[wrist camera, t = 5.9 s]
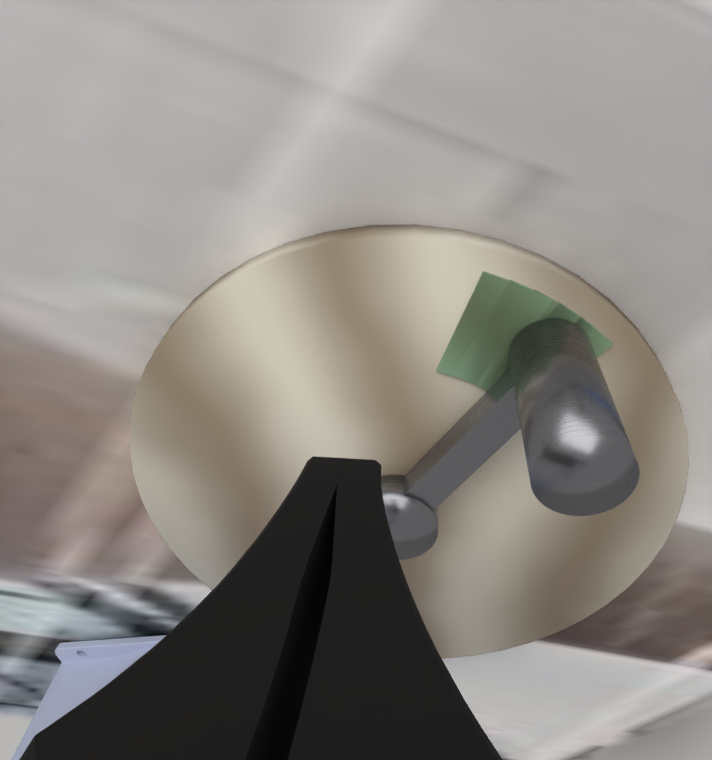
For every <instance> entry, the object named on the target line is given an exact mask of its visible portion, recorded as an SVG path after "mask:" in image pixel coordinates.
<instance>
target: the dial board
mask: <svg viewBox="0 0 712 760" xmlns="http://www.w3.org/2000/svg"><path fill="white" fill-rule="evenodd" d="M548 318H560V319H565V320H569V321H571V322H574V323H575V324H577V325H579V326H580V327H581V328H582V329H583V330H584V331H585V332H586V334H587V335H588V337H589V339H590V342H591V344H592V347H593V350H594V352H595V355H596V357H597V360H598V362H599V365H600V367H601V370H602V373H603V375H604V378H605V380H606V383H607V385H608V388H609V391H610V393H611V396H612V398H613V401H614V403H615V406H616V408H617V411H618V414H619V416H620V419H621V421H622V424H623V426H624V429H625V432H626V434H627V437H628V439H629V442H630V444H631V447H632V449H633V452H634V455H635V457H636V460H637V462H638V466H639V472H640V475H639V481H638V484H637V486H636V488H635V490H634V491H633V493H632V494H631V495H630V496H629V497H628V498H627V499H626V500H625V501H624V502H623V503H621V504H620V505H618V506H617V507H615V508H613V509H611V510H608V511H606V512H603V513H600V514H595V515H589V516H570V515H565V514H561V513H558V512H555V511H552V510H551V509H549V508H547V507H545V506H544V505H543V504H542V503H540V502H539V501H538V499H537V498H536V497H535V495H534V493H533V491H532V488H531V483H530V478H529V472H528V466H527V461H526V455H525V449H524V444H523V438H522V433H521V429H520V430H519V431H518V432H517V433H516V434H515V435H514V436H512V437H511V438H510V439H509V440H508V441H507V442H506V443H505V444H504V445H503V446H502V447H501V448H500V449H499V450H498V451H496V452H495V453H494V454H493V455H492V456H491V457H490V458H489V459H488V460H487V461H486V462H485V463H484V464H483V465H482V466H480V467H479V468H478V469H477V470H476V471H475V472H474V473H473V474H472V475H471V476H470V477H469V478H468V479H467V480H466V481H465V482H463V483H462V484H461V485H460V486H459V487H458V488H457V489H456V490H455V491H454V492H453V493H452V494H451V495H450V496H449V497H447V498H446V499H445V500H444V501H443V502H442V503H441V504H440V505H439V506H438V536H437V539H436V542H435V543H434V545H433V546H432V547H431V548H430V549H429V550H428V551H427V552H425V553H424V554H422V555H420V556H417V557H414V558H411V559H405V560H399V561H400V564H401V567H402V570H403V573H404V575H405V578H406V581H407V584H408V586H409V589H410V591H411V594H412V596H413V599H414V601H415V604H416V606H417V608H418V611H419V613H420V615H421V617H422V620H423V622H424V624H425V626H426V629H427V631H428V633H429V635H430V637H431V639H432V641H433V643H434V645H435V647H436V649H437V651H438V653H439V655H440V657H441V658H453V657H463V656H473V655H479V654H484V653H490V652H495V651H501V650H505V649H508V648H512V647H516V646H519V645H523V644H527V643H530V642H533V641H535V640H538V639H541V638H543V637H546V636H549V635H551V634H554V633H557V632H559V631H561V630H563V629H565V628H567V627H569V626H571V625H573V624H575V623H577V622H579V621H581V620H583V619H585V618H586V617H588V616H589V615H591V614H593V613H594V612H596V611H597V610H599V609H601V608H602V607H604V606H605V605H607V604H608V603H609V602H611V601H612V600H613V599H614V598H616V597H617V596H618V595H619V594H620V593H622V592H623V591H624V590H625V589H627V588H628V587H629V586H630V585H631V584H632V583H633V582H634V581H635V580H636V579H637V578H638V577H639V576H640V575H641V574H642V572H643V571H644V570H645V569H646V568H647V567H648V566H649V565H650V563H651V562H652V561H653V559H654V558H655V556H656V555H657V554H658V552H659V551H660V549H661V548H662V547H663V545H664V544H665V542H666V540H667V538H668V536H669V534H670V532H671V530H672V528H673V526H674V524H675V522H676V520H677V518H678V514H679V511H680V508H681V505H682V501H683V498H684V495H685V492H686V483H687V475H688V467H689V456H688V441H687V431H686V427H685V423H684V419H683V416H682V412H681V408H680V404H679V401H678V399H677V397H676V395H675V393H674V390H673V388H672V386H671V384H670V382H669V380H668V377H667V375H666V373H665V371H664V369H663V367H662V366H661V364H660V362H659V360H658V358H657V356H656V355H655V353H654V352H653V350H652V349H651V347H650V346H649V344H648V343H647V342H646V340H645V339H644V337H643V336H642V334H641V333H640V332H639V330H638V329H637V327H636V326H635V325H634V324H633V323H632V322H631V321H630V320H629V319H628V318H627V317H626V316H625V315H624V314H623V313H622V312H621V311H620V309H619V308H618V307H617V306H616V305H615V304H614V303H613V302H612V301H611V300H610V299H608V298H607V297H606V296H604V295H603V294H602V293H601V292H599V291H598V290H597V289H595V288H594V287H593V286H591V285H590V284H589V283H587V282H586V281H585V280H583V279H582V278H581V277H579V276H578V275H576V274H574V273H572V272H571V271H569V270H567V269H565V268H563V267H562V266H560V265H558V264H556V263H554V262H553V261H551V260H549V259H547V258H545V257H543V256H541V255H539V254H536V253H534V252H531V251H529V250H526V249H523V248H521V247H518V246H516V245H513V244H510V243H508V242H505V241H503V240H499V239H495V238H491V237H487V236H483V235H478V234H474V233H470V232H466V231H462V230H457V229H448V228H439V227H430V226H421V225H370V226H363V227H356V228H349V229H342V230H335V231H328V232H324V233H321V234H317V235H314V236H310V237H306V238H303V239H299V240H296V241H292V242H288V243H286V244H284V245H281V246H279V247H277V248H274V249H272V250H270V251H267V252H265V253H263V254H260V255H258V256H256V257H254V258H251V259H250V260H248V261H246V262H245V263H243V264H242V265H240V266H238V267H237V268H235V269H233V270H232V271H230V272H229V273H227V274H225V275H224V276H222V277H220V278H219V279H218V280H217V281H216V282H214V283H213V284H212V285H211V286H210V287H208V288H207V289H206V290H205V291H204V292H203V293H201V294H200V295H199V296H198V297H197V298H195V299H194V300H193V301H192V302H191V304H190V305H189V306H188V307H187V308H186V309H185V311H184V312H183V313H182V314H181V315H180V316H179V318H178V319H177V320H176V321H175V322H174V323H173V324H172V326H171V327H170V329H169V330H168V332H167V333H166V335H165V336H164V337H163V339H162V340H161V342H160V344H159V345H158V347H157V349H156V350H155V352H154V354H153V355H152V357H151V359H150V360H149V362H148V364H147V365H146V367H145V370H144V372H143V375H142V378H141V380H140V383H139V385H138V388H137V391H136V393H135V398H134V403H133V408H132V413H131V418H130V455H131V462H132V468H133V475H134V478H135V481H136V484H137V487H138V491H139V494H140V497H141V500H142V502H143V504H144V506H145V508H146V510H147V512H148V514H149V516H150V518H151V520H152V523H153V524H154V526H155V527H156V529H157V530H158V532H159V533H160V535H161V536H162V538H163V539H164V541H165V542H166V544H167V545H168V547H169V548H170V549H171V550H172V551H173V553H174V554H175V555H176V556H177V557H178V558H179V559H180V561H181V562H182V563H183V564H184V565H185V566H186V567H187V568H188V569H189V570H190V571H191V572H192V573H193V574H194V575H195V576H196V577H197V578H198V579H200V580H201V581H202V582H203V583H204V584H205V585H206V586H207V587H209V588H210V589H211V590H213V589H214V588H215V587H216V586H217V585H218V584H219V583H220V582H221V581H222V579H223V578H224V577H225V576H226V575H227V574H228V573H229V571H230V570H231V569H232V568H233V567H234V566H235V564H236V563H237V562H238V561H239V560H240V558H241V557H242V556H243V555H244V553H245V552H246V551H247V550H248V548H249V547H250V546H251V545H252V544H253V542H254V541H255V540H256V539H257V537H258V536H259V535H260V533H261V532H262V531H263V529H264V528H265V526H266V525H267V524H268V522H269V521H270V519H271V518H272V517H273V515H274V514H275V512H276V511H277V510H278V508H279V507H280V505H281V504H282V502H283V501H284V499H285V498H286V496H287V495H288V493H289V492H290V490H291V489H292V487H293V485H294V484H295V482H296V480H297V479H298V477H299V475H300V474H301V472H302V470H303V468H304V466H305V465H306V463H307V461H308V460H309V459H310V458H312V457H313V456H316V457H333V458H350V459H368V460H376V461H377V462H379V463H380V464H381V476H383V475H404V476H405V475H406V474H407V473H408V472H409V471H410V469H411V468H412V467H413V466H414V465H415V464H416V463H417V462H418V461H419V460H420V459H421V458H422V457H423V456H424V455H425V454H426V453H427V452H428V451H429V450H430V449H431V448H432V447H433V446H434V445H435V444H436V443H437V442H438V441H439V440H440V439H441V438H442V437H443V436H444V435H445V434H446V433H447V432H448V431H449V430H450V429H451V428H452V427H453V426H454V425H455V423H456V422H457V421H458V420H459V419H460V418H461V417H462V416H463V415H464V414H465V413H466V412H467V411H468V410H469V409H470V408H471V407H472V406H473V405H474V404H475V403H476V402H477V401H478V400H479V399H480V398H481V397H482V396H483V395H484V394H485V393H486V392H487V391H488V390H489V389H490V388H491V387H492V386H493V385H494V384H495V383H496V382H497V381H498V380H499V379H500V377H501V376H502V375H503V374H504V373H505V372H506V371H507V370H508V369H509V368H510V365H509V359H508V353H509V348H510V345H511V343H512V341H513V339H514V337H515V336H516V335H517V334H518V333H519V332H520V331H521V330H522V329H523V328H525V327H526V326H528V325H529V324H531V323H533V322H536V321H539V320H542V319H548Z"/></svg>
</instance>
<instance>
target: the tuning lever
mask: <svg viewBox="0 0 712 760" xmlns="http://www.w3.org/2000/svg"><path fill="white" fill-rule="evenodd" d="M508 359H509V365H510V368H509V369H508V370H507V371H506V372H505V373H504V374H503V375H502V376H501V377H500V379H499V380H498V381H497V382H496V383H495V384H494V385H493V386H492V387H491V388H490V389H489V390H488V391H487V392H486V393H485V394H484V395H483V396H482V397H481V398H480V399H479V400H478V401H477V402H476V403H475V404H474V405H473V406H472V407H471V408H470V409H469V410H468V411H467V412H466V413H465V414H464V415H463V416H462V417H461V418H460V419H459V420H458V421H457V422H456V423H455V425H454V426H453V427H452V428H451V429H450V430H449V431H448V432H447V433H446V434H445V435H444V436H443V437H442V438H441V439H440V440H439V441H438V442H437V443H436V444H435V445H434V446H433V447H432V448H431V449H430V450H429V451H428V452H427V453H426V454H425V455H424V456H423V457H422V458H421V459H420V460H419V461H418V462H417V463H416V464H415V465H414V466H413V467H412V468H411V469H410V471H409V472H408V473H407V474H406V475H405V476H404V475H383V476H381V487H382V495H383V501H384V506H385V511H386V516H387V520H388V524H389V528H390V531H391V535H392V538H393V542H394V545H395V549H396V552H397V555H398V558H399V560H405V559H411V558H414V557H417V556H420V555H422V554H424V553H425V552H427V551H428V550H429V549H430V548H431V547H432V546H433V545H434V543H435V542H436V539H437V536H438V506H439V505H440V504H441V503H442V502H443V501H444V500H445V499H446V498H447V497H449V496H450V495H451V494H452V493H453V492H454V491H455V490H456V489H457V488H458V487H459V486H460V485H461V484H462V483H463V482H465V481H466V480H467V479H468V478H469V477H470V476H471V475H472V474H473V473H474V472H475V471H476V470H477V469H478V468H479V467H480V466H482V465H483V464H484V463H485V462H486V461H487V460H488V459H489V458H490V457H491V456H492V455H493V454H494V453H495V452H496V451H498V450H499V449H500V448H501V447H502V446H503V445H504V444H505V443H506V442H507V441H508V440H509V439H510V438H511V437H512V436H514V435H515V434H516V433H517V432H518V431H519V430H520V429H521V433H522V438H523V444H524V449H525V455H526V461H527V466H528V472H529V478H530V483H531V488H532V491H533V493H534V495H535V497H536V498H537V499H538V501H539V502H540V503H542V504H543V505H544V506H545V507H547V508H549V509H551V510H552V511H555V512H558V513H561V514H565V515H570V516H589V515H595V514H600V513H603V512H606V511H608V510H611V509H613V508H615V507H617V506H618V505H620V504H621V503H623V502H624V501H625V500H626V499H627V498H628V497H629V496H630V495H631V494H632V493H633V491H634V490H635V488H636V486H637V484H638V481H639V475H640V472H639V466H638V462H637V460H636V457H635V455H634V452H633V449H632V447H631V444H630V442H629V439H628V437H627V434H626V432H625V429H624V426H623V424H622V421H621V419H620V416H619V414H618V411H617V408H616V406H615V403H614V401H613V398H612V396H611V393H610V391H609V388H608V385H607V383H606V380H605V378H604V375H603V373H602V370H601V367H600V365H599V362H598V360H597V357H596V355H595V352H594V350H593V347H592V344H591V342H590V339H589V337H588V335H587V334H586V332H585V331H584V330H583V329H582V328H581V327H580V326H579V325H577V324H575V323H574V322H571V321H569V320H565V319H560V318H548V319H542V320H539V321H536V322H533V323H531V324H529V325H528V326H526V327H525V328H523V329H522V330H521V331H520V332H519V333H518V334H517V335H516V336H515V337H514V339H513V341H512V343H511V345H510V348H509V353H508Z"/></svg>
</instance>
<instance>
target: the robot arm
mask: <svg viewBox="0 0 712 760" xmlns="http://www.w3.org/2000/svg"><path fill="white" fill-rule="evenodd" d="M55 654H56V655H57V657H58V658H59V659H60V660H61V662H62V663H61V665H60V667H59V669H58V671H57V672H56V674H55V676H54V678H53V680H52V682H51V684H50V686H49V688H48V690H47V692H46V694H45V696H44V698H43V699H42V701H41V703H40V705H39V707H38V709H37V711H36V713H35V715H34V717H33V719H32V721H31V723H30V724H29V727H28V728H27V730H26V732H25V734H24V736H23V738H22V740H21V742H20V744H19V746H18V748H17V750H16V751H15V753H14V755H13V757H12V759H11V760H503V759H502V758H501V757H500V755H499V754H498V752H497V751H496V749H495V748H494V746H493V745H492V743H491V742H490V740H489V739H488V737H487V736H486V734H485V733H484V731H483V729H482V728H481V726H480V725H479V723H478V721H477V720H476V718H475V716H474V715H473V713H472V712H471V710H470V708H469V707H468V705H467V704H466V702H465V700H464V699H463V697H462V695H461V693H460V691H459V689H458V688H457V686H456V684H455V682H454V680H453V679H452V677H451V675H450V673H449V671H448V670H447V668H446V666H445V664H444V662H443V661H442V659H441V657H440V655H439V653H438V651H437V649H436V647H435V645H434V643H433V641H432V639H431V637H430V635H429V633H428V631H427V629H426V626H425V624H424V622H423V620H422V617H421V615H420V613H419V611H418V608H417V606H416V604H415V601H414V599H413V596H412V594H411V591H410V589H409V586H408V584H407V581H406V578H405V575H404V573H403V570H402V567H401V564H400V561H399V558H398V555H397V552H396V549H395V545H394V542H393V538H392V535H391V531H390V528H389V524H388V520H387V516H386V511H385V506H384V501H383V495H382V487H381V464H380V463H379V462H377V461H376V460H368V459H350V458H333V457H316V456H313V457H312V458H310V459H309V460H308V461H307V463H306V465H305V466H304V468H303V470H302V472H301V474H300V475H299V477H298V479H297V480H296V482H295V484H294V485H293V487H292V489H291V490H290V492H289V493H288V495H287V496H286V498H285V499H284V501H283V502H282V504H281V505H280V507H279V508H278V510H277V511H276V512H275V514H274V515H273V517H272V518H271V519H270V521H269V522H268V524H267V525H266V526H265V528H264V529H263V531H262V532H261V533H260V535H259V536H258V537H257V539H256V540H255V541H254V542H253V544H252V545H251V546H250V547H249V548H248V550H247V551H246V552H245V553H244V555H243V556H242V557H241V558H240V560H239V561H238V562H237V563H236V564H235V566H234V567H233V568H232V569H231V570H230V571H229V573H228V574H227V575H226V576H225V577H224V578H223V579H222V581H221V582H220V583H219V584H218V585H217V586H216V587H215V588H214V589H213V590H212V591H211V592H210V593H209V594H208V595H207V597H206V598H205V599H204V600H203V601H202V602H201V603H200V604H199V605H198V606H197V607H196V608H195V609H194V610H193V611H192V612H191V613H190V614H189V615H187V616H186V617H185V618H184V619H183V620H182V621H181V622H180V623H179V624H178V625H177V626H176V627H175V628H174V629H173V630H172V631H171V632H170V633H168V634H167V635H161V636H147V637H133V638H119V639H105V640H91V641H77V642H64V643H60V644H59V645H58V646H57V648H56V650H55Z"/></svg>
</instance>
